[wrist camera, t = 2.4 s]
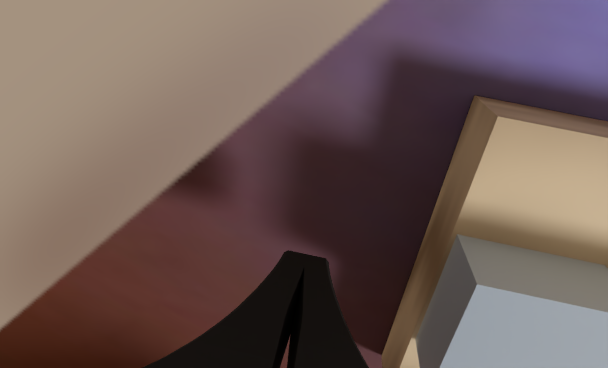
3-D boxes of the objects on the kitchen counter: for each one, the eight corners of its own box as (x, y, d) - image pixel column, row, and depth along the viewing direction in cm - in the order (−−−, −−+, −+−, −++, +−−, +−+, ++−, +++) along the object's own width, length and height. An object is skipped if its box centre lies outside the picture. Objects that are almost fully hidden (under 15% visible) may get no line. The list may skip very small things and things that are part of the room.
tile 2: (542, 367, 14) (574, 433, 12) (415, 339, 14) (424, 399, 12) (604, 265, 12) (656, 323, 10) (457, 234, 12) (477, 284, 10)
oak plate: (605, 406, 18) (640, 465, 16) (381, 356, 18) (384, 406, 16) (793, 157, 13) (886, 192, 10) (474, 95, 13) (498, 116, 11)
